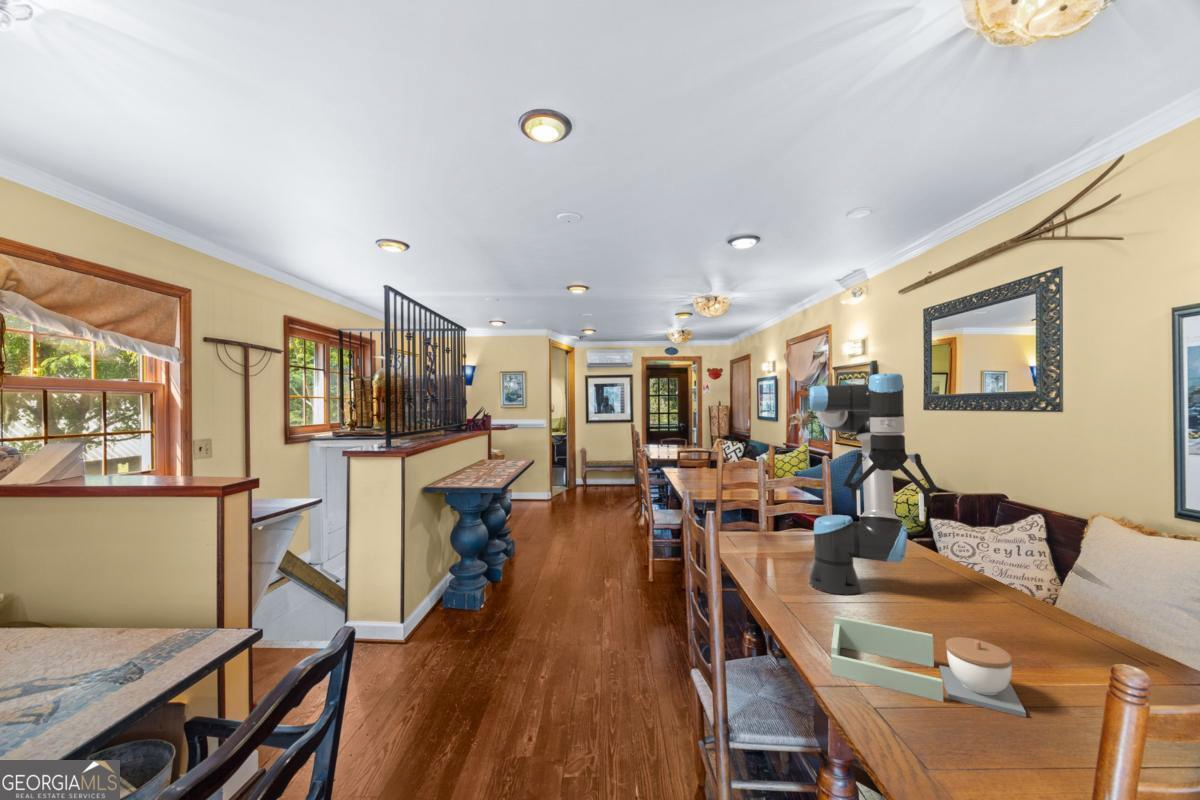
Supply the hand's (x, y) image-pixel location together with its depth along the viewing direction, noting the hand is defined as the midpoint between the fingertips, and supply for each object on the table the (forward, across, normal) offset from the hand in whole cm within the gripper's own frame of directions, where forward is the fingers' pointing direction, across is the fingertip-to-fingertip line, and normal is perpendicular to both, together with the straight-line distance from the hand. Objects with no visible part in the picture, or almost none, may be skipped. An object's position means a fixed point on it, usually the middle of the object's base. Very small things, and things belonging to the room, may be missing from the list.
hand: (889, 517), depth 117 cm
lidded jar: (+31, +14, -15) cm, 37 cm away
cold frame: (+32, -3, -15) cm, 35 cm away
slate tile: (+32, +14, -15) cm, 38 cm away
